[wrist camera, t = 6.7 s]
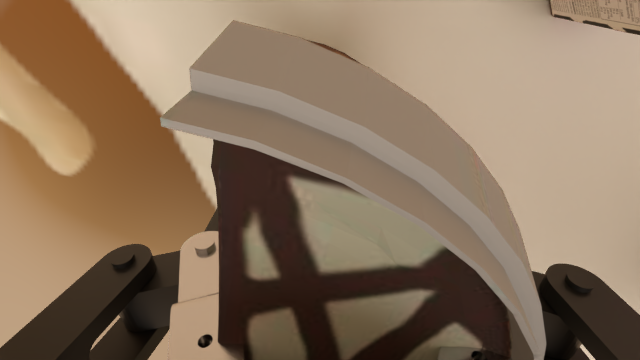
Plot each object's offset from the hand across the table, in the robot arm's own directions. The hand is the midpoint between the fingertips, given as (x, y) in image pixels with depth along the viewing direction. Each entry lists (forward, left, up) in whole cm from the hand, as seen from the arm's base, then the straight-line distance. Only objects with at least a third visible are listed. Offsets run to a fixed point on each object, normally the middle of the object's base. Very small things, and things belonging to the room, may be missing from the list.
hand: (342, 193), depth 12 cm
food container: (-1, 0, -2) cm, 3 cm away
